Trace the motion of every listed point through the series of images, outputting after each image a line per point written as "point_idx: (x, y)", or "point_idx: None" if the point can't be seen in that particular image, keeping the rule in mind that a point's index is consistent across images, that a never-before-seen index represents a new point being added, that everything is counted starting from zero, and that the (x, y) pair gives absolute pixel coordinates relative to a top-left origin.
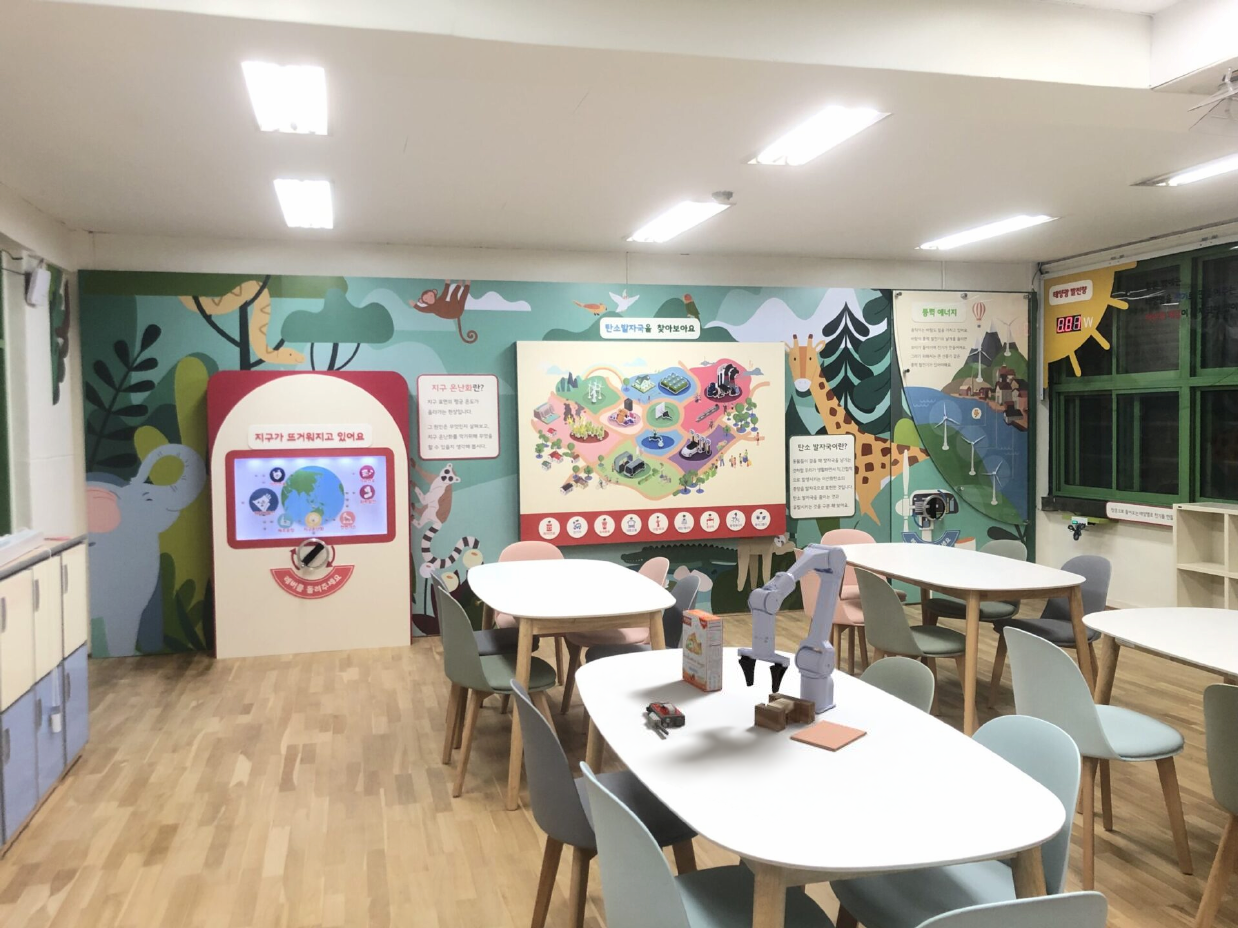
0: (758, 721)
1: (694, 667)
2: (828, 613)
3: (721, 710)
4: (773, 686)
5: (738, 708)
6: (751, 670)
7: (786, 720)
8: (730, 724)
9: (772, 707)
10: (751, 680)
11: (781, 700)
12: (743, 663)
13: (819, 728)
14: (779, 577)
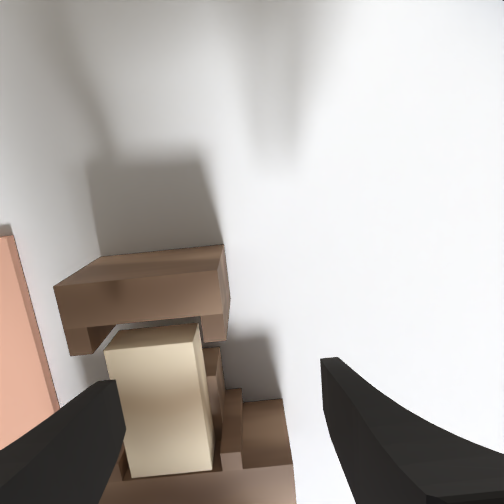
0: (199, 251)
1: None
2: None
3: (445, 279)
4: (70, 405)
5: (406, 353)
6: (365, 493)
7: None
8: (300, 166)
9: (133, 322)
10: (332, 415)
11: (185, 442)
12: (448, 477)
13: (9, 398)
14: None
